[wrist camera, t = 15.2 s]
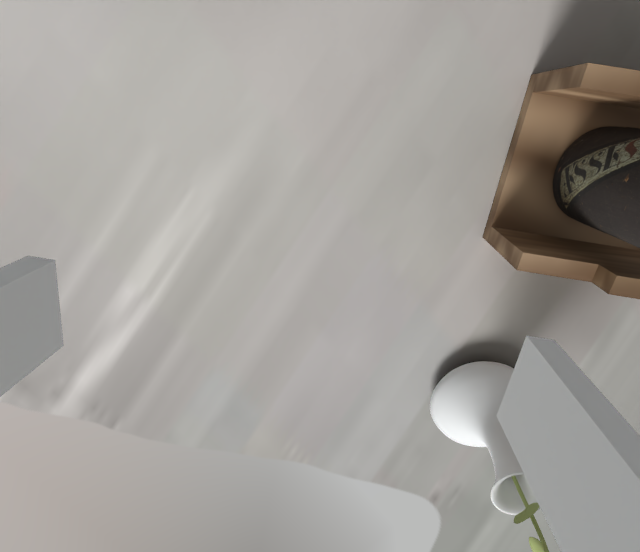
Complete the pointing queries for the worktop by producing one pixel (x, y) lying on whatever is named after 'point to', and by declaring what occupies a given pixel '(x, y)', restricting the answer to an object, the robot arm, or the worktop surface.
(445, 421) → the flower in vase
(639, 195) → the container
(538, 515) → the worktop surface
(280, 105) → the worktop surface
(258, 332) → the worktop surface
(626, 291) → the holder
